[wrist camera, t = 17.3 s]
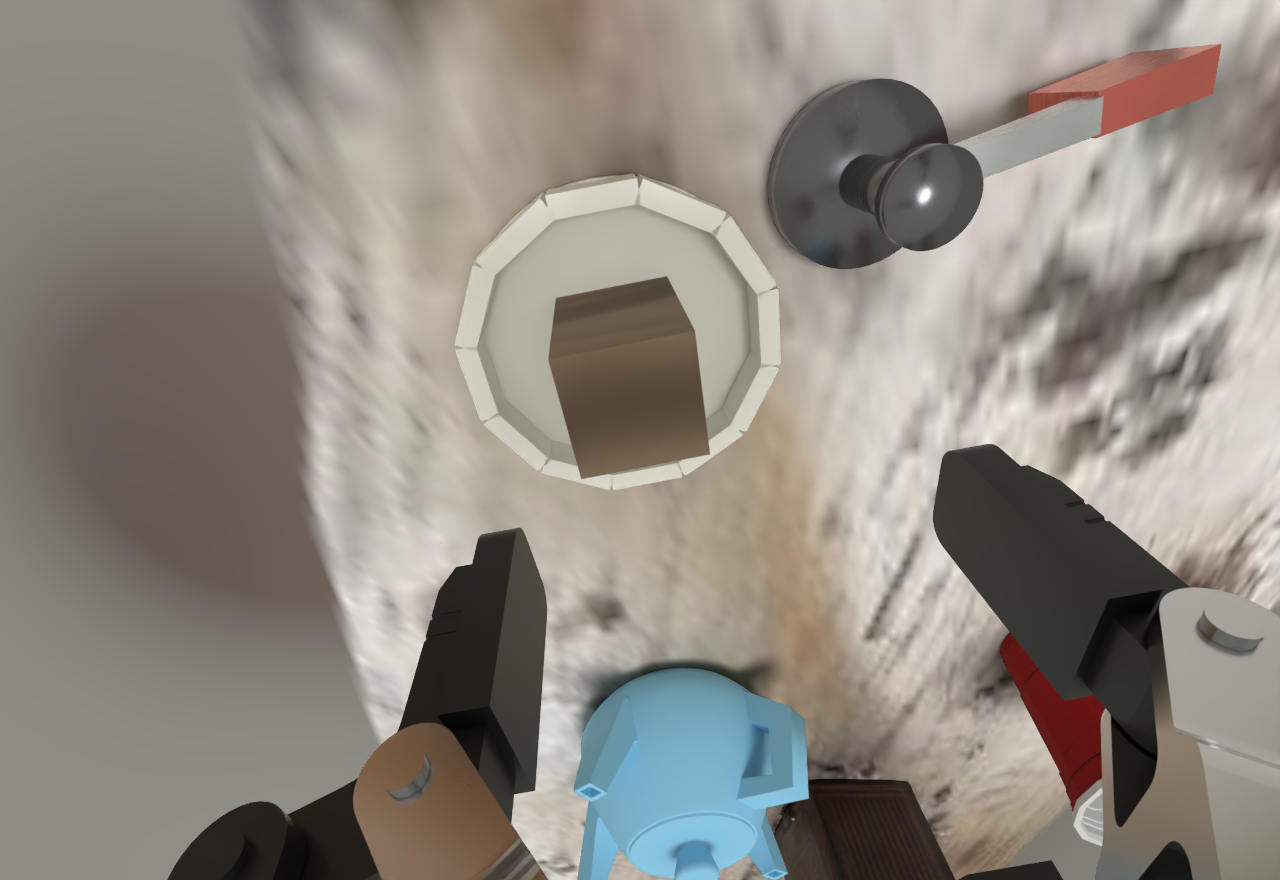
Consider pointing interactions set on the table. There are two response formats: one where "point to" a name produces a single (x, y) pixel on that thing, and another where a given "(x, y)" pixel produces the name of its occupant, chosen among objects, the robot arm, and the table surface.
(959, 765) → the table surface
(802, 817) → the coffee grinder
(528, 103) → the table surface
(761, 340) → the dish
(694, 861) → the teapot
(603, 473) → the block
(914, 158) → the base
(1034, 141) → the crank
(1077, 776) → the plastic cup
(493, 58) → the table surface
